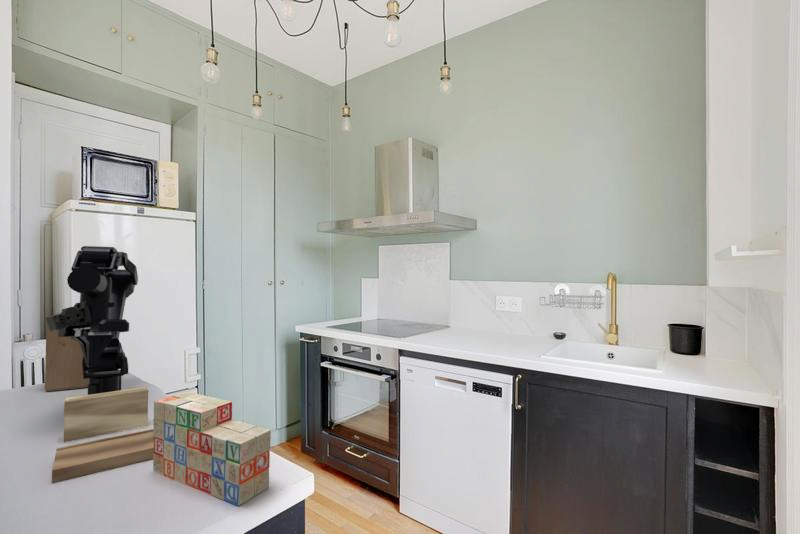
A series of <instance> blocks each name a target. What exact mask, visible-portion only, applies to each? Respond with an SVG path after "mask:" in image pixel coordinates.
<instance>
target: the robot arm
mask: <svg viewBox="0 0 800 534" xmlns="http://www.w3.org/2000/svg"><path fill="white" fill-rule="evenodd" d="M119 267H123V268H124V269H119ZM137 269H138V267H137V265H135V264H134V263H133V262H132V261H131V260H130V259H129V256H128V253H127V252H124V251H118V250H117V248H116V247H114V246H91V245H90V246H89V245H87V246H86V245H83V246H82V247H80V250H78V251H77V252H76V255H75V257H74V260H73V263H72V266H71V272H70V273H69V274H68V276H67V279H66V280H67V281H66V282H67V285H68V287H69V288H70V289H71V290H72V291H74V292H76V293H79V294H80V296H79V302H75V304H74V305H73V306H70V307H65V308H62V309H61V312H60V313H59V312H58V313H55V314H53V315H49V316H45V321H46V322H47V324H48V327H49V330H50V331H52V330H54V329H55V330H59V331H58V337H71V339H74V340H75V341H77V342H78V343H79V344H80V346H81V348H82V351H83V355H84V356H83V360H82V367H83V378H84V379H87V378H90V381H89V385H88V387H87V395H92V394H99V393H106V392H113V391H120V390H122V377H123V376H124V375H128V374H129V361H128V356H126V353H125V352H124V349H123V346H122V343H121V342H120V334H121V333H127V332H128V333H129V332H130V322H129V321H127V319H125V318H123V316H124V311H125V306H126V299H128V297H130V296H131V295H132V294H133V293H134V291H135V287H136V286H138V281H139V275H138V270H137Z"/></svg>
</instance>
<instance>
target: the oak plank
mask: <svg viewBox="0 0 800 534" xmlns="http://www.w3.org/2000/svg"><path fill="white" fill-rule="evenodd" d="M63 404H64V405H63V413H64V414H63V443H68V442H72V440H73V441H77V440H83V439H89V438H93V437H98V436H103V435H108V434H114V433H118V432H119V431H120V432H124V431H123V430H125V431H128V430H127V429H130V430H133V429H132V428H136V429H138V428H137V427H141V428H143V427H142V426H146V427H148V426H147V425H148V420H149V419H148V417H149V416H148V415H149V389H148V386H143V387H136V388H135V387H134V388H126V389H121V390H120V391H113V392H106V393H99V394H92V395H88V394H85V395H78V396H71V397H66V398H65V399H64V403H63ZM67 441H68V442H67Z"/></svg>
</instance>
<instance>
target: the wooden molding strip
mask: <svg viewBox="0 0 800 534" xmlns="http://www.w3.org/2000/svg"><path fill="white" fill-rule="evenodd" d="M153 429H154V428H150V429H144V430H141V431H136V432H131V433H130V432H129V433H124V434H120V435H115V436H109V437H104V438H100V439H94V440H90V441H85V442H80V443H74V444H69V445H64V446H59V447H56V450H55V451H56V452H55V455H54V460H53V463H52V464H53V466H52V470H51V483H52V484H53V483H57V482H62V481H65V480H70V479H73V478H78V477H81V476H86V475H91V474H96V473H99V472H100V473H101V472H103V471H107V470H112V469H116V468H119V467H120V468H121V467H125V466H130V465H133V464H137V463H140V462H141V463H142V462H146V461H149V460H153V454H154V435H153Z"/></svg>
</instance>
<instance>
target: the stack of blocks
mask: <svg viewBox="0 0 800 534" xmlns="http://www.w3.org/2000/svg"><path fill="white" fill-rule="evenodd" d="M152 429H153V435H154V454H153V459H152V460H153V462H152V464H153V468H152V470H154V471H153V472H155V471H156V473H158V474H160V475H162V474H163V475H162V476H163V477H167V478H168V479H170V480H173V481H176V482H178V483H180V484H182V485H184V486H185V485H186V486H188V487H190V488H191V487H192V488H194V489H195V490H199V491H202V492H204V493H206V494H209V495H211V496H212V497H215V498H217V499H220V500H222V501H225V502H227V503H229V504H232V505H234V506H237V507H239V506H241V505H242V504H244V503H246V502H247V501H249V500H250V499H252V498H254V497H255V496H257V495H259V494H260V493H262V492H264V491H265V490H267V489H268V488H269V487H270V467H271V466H270V463H271V461H270V459H271V457H270V456H271V454H270V449H271V438H272V437H271V432H272V431H271V429H269V428H265V427H261V426H258V425H255V424H251V423H248V422H243V421H241V420H240V421H239V420H235V419H233V402H232V401H231V400H230V401H229V400H226V399H221V398H218V397H213V396H208V395H204V394H198V393H196V392H191V391H184V392H180V393H177V394H172V396H171V395H170V396H168V397H167V396H166V397H163V398H160V399H155V400H154V401H153V428H152Z"/></svg>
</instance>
